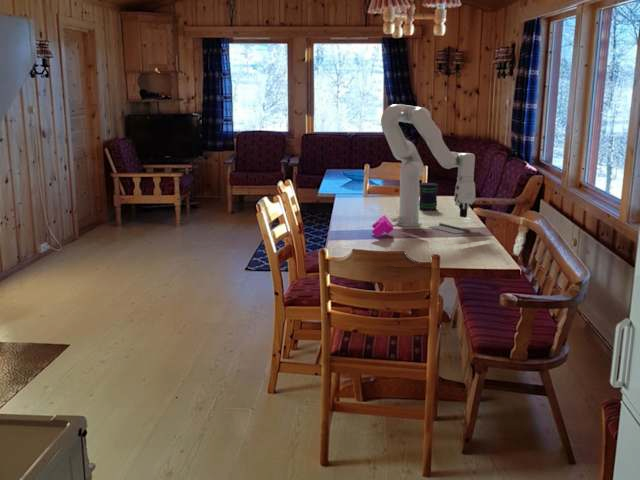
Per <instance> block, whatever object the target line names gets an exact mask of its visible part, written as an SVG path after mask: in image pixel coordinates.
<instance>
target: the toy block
mask: <svg viewBox="0 0 640 480" xmlns="http://www.w3.org/2000/svg"><path fill="white" fill-rule="evenodd" d="M371 228H373V229H372V230H371V233H372V234H373V235H374V236H375V237H376V238H379V237H380V236H381V235H383V234H384V233H386V234H387V235H388V234H390V233H391V232H392V231H393V230H394V225H393V222H392V221H390V220H389V219H388V217H387V216H386V215H385V214H383V215H382V216H381V217H380V218H379V219H378V220H376V221H375V222H374V223H373V224H372V225H371Z"/></svg>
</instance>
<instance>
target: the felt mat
mask: <svg viewBox="0 0 640 480" xmlns="http://www.w3.org/2000/svg"><path fill="white" fill-rule="evenodd" d="M428 228H429V229H433V230H439V231H442V232H445V233H449V234H450V233H451V234H454V235H457V234H464V233H467V232H465V231H461V230H457V229H453V228H448V227H444V226H440V225H439V224H438V225H433V226H429V227H428Z"/></svg>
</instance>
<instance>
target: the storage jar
mask: <svg viewBox="0 0 640 480" xmlns="http://www.w3.org/2000/svg"><path fill="white" fill-rule="evenodd" d="M438 186H439V185H438V183H435V182H419V210H421V211H425V212H426V211H427V212H435V211H437V206H438V204H437V203H438V200H437V199H438V198H437V196H438Z"/></svg>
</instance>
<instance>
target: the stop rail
mask: <svg viewBox="0 0 640 480" xmlns="http://www.w3.org/2000/svg"><path fill="white" fill-rule="evenodd" d="M439 225H440V226H444V227H448V228H453V229H457V230H461V231H465V232H466V233H468V234H470V233H471V229H468V228H463V227H460V226H454V225H451V224H446V223H443V222H439V224H438V226H439Z"/></svg>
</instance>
